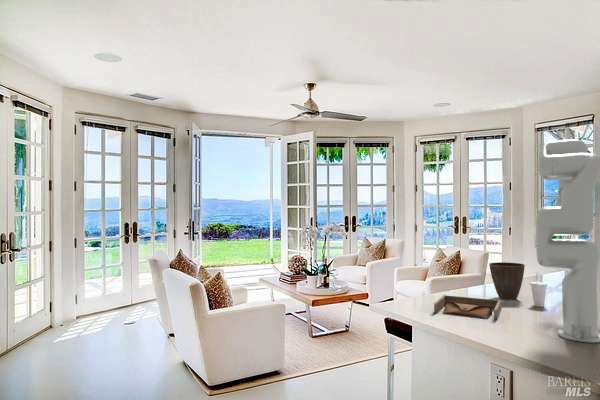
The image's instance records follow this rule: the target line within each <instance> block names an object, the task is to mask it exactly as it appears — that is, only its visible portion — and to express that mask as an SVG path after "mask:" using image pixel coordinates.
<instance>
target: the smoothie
mask: <svg viewBox="0 0 600 400" xmlns="http://www.w3.org/2000/svg"><path fill="white" fill-rule="evenodd" d="M535 278H536V281H531V282H530V286H531V292H532V299H533V306H534V307H545V303H546V302H545V301H546V295H547V294H546V293H547V287H548V283H547V282H543V281H542V282H540V281H539V273H538V272H536V275H535Z"/></svg>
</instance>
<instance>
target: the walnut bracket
mask: <svg viewBox="0 0 600 400" xmlns="http://www.w3.org/2000/svg"><path fill="white" fill-rule="evenodd" d="M447 302H453V303H459V304H469V305H477V306H488V307H490V308H491V309H492V311H493V320H494V321H495V322H496V321H498V319H499V317H500V314H501V313H502V312H501V311H502V299H491V298H479V297H467V296H456V295H448V294H447V295H446V294H443V295H442V296H441V297H440V298H439V299H438V300H436V301H435V302H434V303H433V314H434V315H437V314H438V313H439V312H440V311H441V310H443V309H444V308H445V305H446V303H447Z"/></svg>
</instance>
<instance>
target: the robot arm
mask: <svg viewBox="0 0 600 400" xmlns="http://www.w3.org/2000/svg"><path fill="white" fill-rule="evenodd" d="M588 150H589V148H588V145H587V144H586V143H585V142H584V141H583V140H580V139H576V138H575V139H563V140H562V139H561V140H549V141H548V140H547V141H546V142H544V143H543V144H542V145H541V146H540V148H539V152H538V173H539V175H540V176H539V177H541V178H542V180H545V181H558V189H557V190H554V194H556V195H557V194H558V196H556V200H555V206H544V207H543V206H542V207H541V208H540V209H539V210H538V212H537V214H536V220H535V229H536V230H535V231H536V233H535V236H536V238H535V239H536V241H535V243H536V244H535V245H536V258H537V262H538V264H539V265H540V266H542V267H545V268H555V269H556V268H557V269H568V270H569V269H570V271H569V272H568V273H567V274H566V275H565V276H564V277H563V279H562V281H561V293H562V295H561V298H562V328H560V329H558V330H557V335H558V336H560V337H562V338H563V339H565V340H571V341H574V342H581V343H590V344H591V343H595V344H596V343H600V332H599V322H598V321H599V317H598V316H599V314H598V313H599V312H598V311H599V310H598V309H599V308H598V268H599V260H600V248H599V246H598V244H597V243H595V242H594V241H592V240H588V239H581V238H579V239H577V238H571V239H570V238H564V239H563V238H553V237H554V236H587V235H589V234H591V233H592V231H593V229H594V218H595V216H596V213H594V191H595V188H596V185H597V183H598V180H599V178H600V155H598V154H596V153H593V152H592V153H591V152H588Z"/></svg>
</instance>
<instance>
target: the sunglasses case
mask: <svg viewBox="0 0 600 400" xmlns="http://www.w3.org/2000/svg"><path fill="white" fill-rule="evenodd" d="M443 309H444V310H443V312H442V315H449V316H451V315H452V316H461V317H467V318H468V317H469V318H477V319H483V320H489V319H490V318H491V317H492V316H493V310H492V309H491V308H490V307H488V306H477V305H469V304H459V303H453V302H447V303H446V305H445V306H444V308H443Z"/></svg>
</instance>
